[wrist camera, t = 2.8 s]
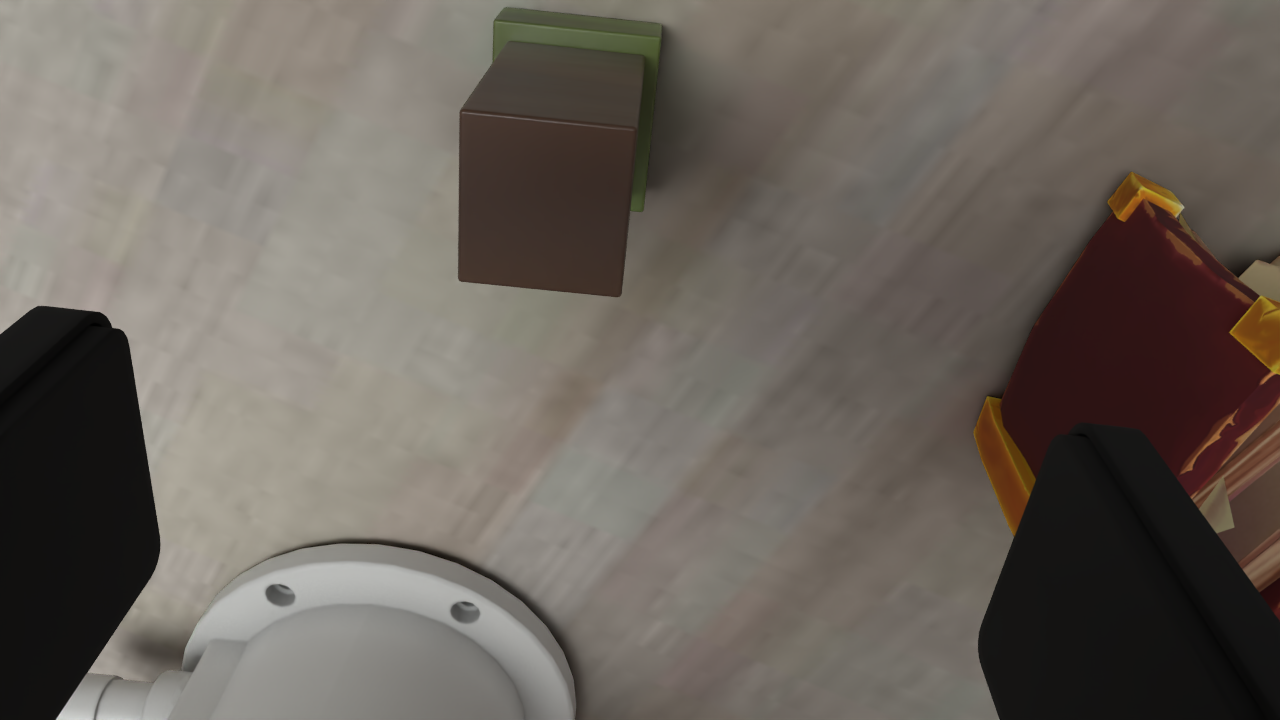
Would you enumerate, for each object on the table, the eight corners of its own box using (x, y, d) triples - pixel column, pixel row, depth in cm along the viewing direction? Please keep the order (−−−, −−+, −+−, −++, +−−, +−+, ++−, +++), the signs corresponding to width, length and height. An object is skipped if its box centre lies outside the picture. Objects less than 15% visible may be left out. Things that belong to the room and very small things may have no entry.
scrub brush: (645, 191, 25) (635, 319, 19) (499, 176, 25) (440, 300, 19) (662, 23, 23) (658, 105, 17) (503, 6, 23) (441, 83, 17)
